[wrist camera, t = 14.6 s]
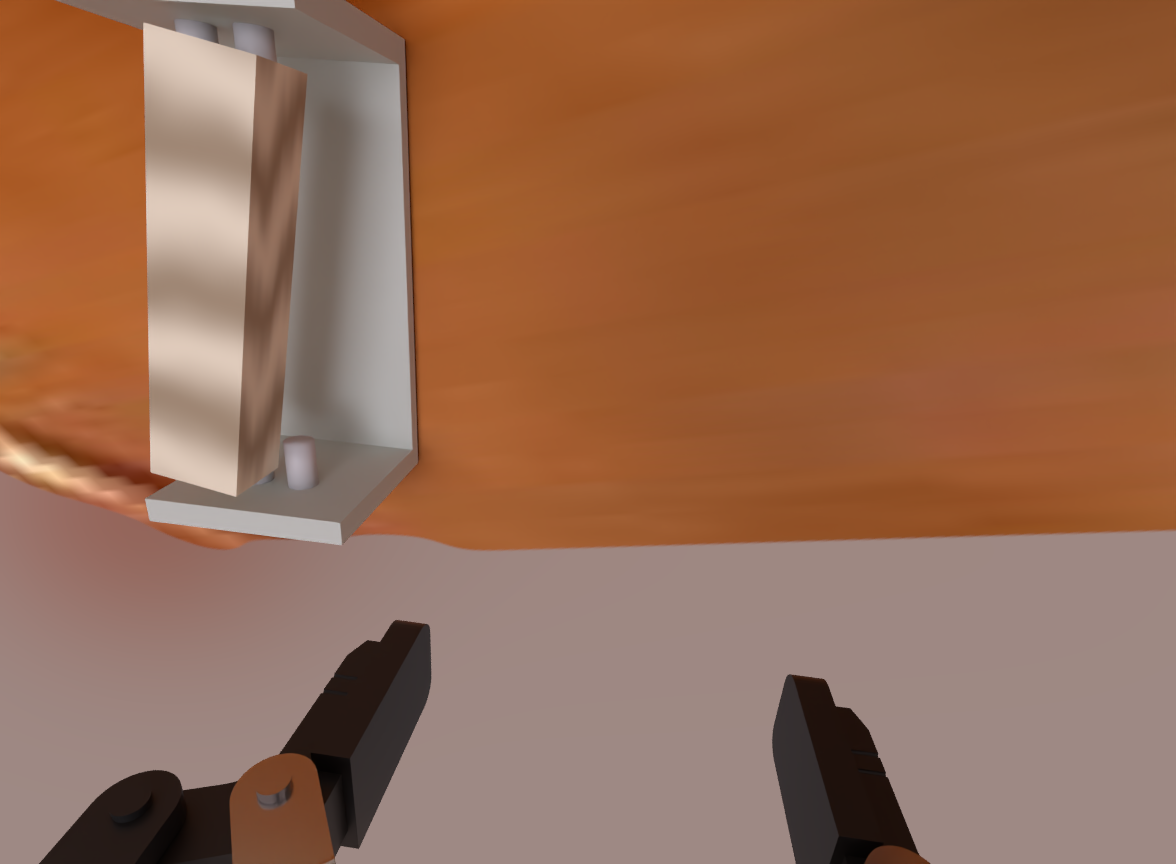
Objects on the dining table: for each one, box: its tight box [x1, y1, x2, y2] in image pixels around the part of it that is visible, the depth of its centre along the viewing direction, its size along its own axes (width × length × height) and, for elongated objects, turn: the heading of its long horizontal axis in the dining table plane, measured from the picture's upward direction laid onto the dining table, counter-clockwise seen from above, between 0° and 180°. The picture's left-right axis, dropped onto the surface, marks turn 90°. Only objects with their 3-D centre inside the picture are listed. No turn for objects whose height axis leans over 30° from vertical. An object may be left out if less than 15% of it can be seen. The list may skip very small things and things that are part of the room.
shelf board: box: [143, 22, 307, 497], centre depth 31 cm, size 22×5×4 cm, turn 165°
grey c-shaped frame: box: [56, 0, 418, 545], centre depth 36 cm, size 28×12×12 cm, turn 176°
